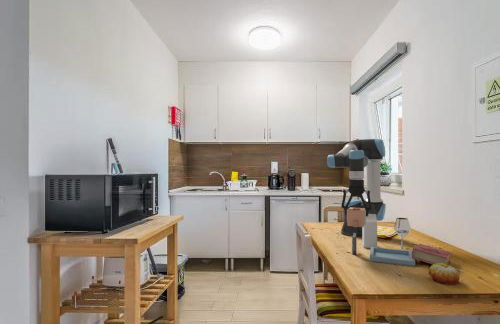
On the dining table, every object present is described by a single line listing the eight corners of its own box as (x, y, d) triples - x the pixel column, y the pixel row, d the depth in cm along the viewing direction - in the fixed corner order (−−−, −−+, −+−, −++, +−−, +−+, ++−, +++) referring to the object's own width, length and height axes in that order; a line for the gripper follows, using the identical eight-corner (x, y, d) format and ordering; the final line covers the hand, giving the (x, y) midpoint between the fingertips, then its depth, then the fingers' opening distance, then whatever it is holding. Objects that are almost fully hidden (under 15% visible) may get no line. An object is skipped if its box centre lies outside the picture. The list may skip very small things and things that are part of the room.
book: (416, 252, 167) (417, 243, 166) (450, 262, 157) (451, 252, 157) (409, 257, 155) (411, 247, 155) (445, 268, 146) (447, 257, 146)
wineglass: (391, 251, 177) (392, 218, 177) (397, 248, 183) (397, 216, 183) (407, 254, 171) (407, 220, 171) (412, 251, 177) (412, 218, 177)
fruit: (423, 278, 133) (425, 259, 135) (435, 281, 139) (437, 262, 141) (452, 286, 124) (454, 265, 126) (463, 288, 130) (465, 268, 131)
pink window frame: (363, 227, 161) (363, 211, 161) (346, 226, 164) (346, 210, 164) (365, 223, 174) (365, 208, 174) (349, 221, 177) (349, 207, 177)
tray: (370, 251, 176) (370, 246, 176) (411, 255, 169) (411, 250, 169) (369, 261, 158) (369, 256, 158) (415, 266, 150) (415, 261, 150)
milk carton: (377, 248, 182) (377, 215, 182) (364, 247, 183) (364, 214, 183) (374, 245, 189) (375, 213, 189) (362, 244, 190) (362, 212, 190)
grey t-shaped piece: (352, 252, 173) (352, 232, 173) (356, 253, 172) (356, 233, 172) (351, 255, 168) (351, 234, 168) (356, 255, 167) (356, 235, 167)
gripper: (335, 179, 171) (335, 221, 170) (377, 179, 162) (377, 224, 162) (337, 178, 178) (337, 219, 177) (377, 179, 169) (377, 222, 169)
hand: (356, 221), depth 170 cm, fingers closed on pink window frame, 8 cm apart
